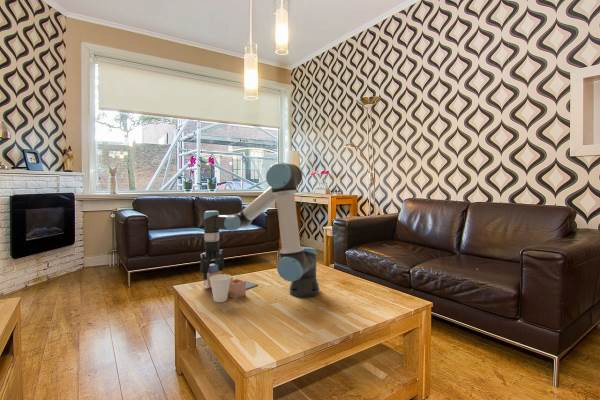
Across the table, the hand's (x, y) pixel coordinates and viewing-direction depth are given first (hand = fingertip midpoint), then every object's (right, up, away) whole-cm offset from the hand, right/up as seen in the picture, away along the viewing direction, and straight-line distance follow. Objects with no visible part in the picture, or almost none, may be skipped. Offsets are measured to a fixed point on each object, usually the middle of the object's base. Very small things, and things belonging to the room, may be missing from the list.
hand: (212, 284), depth 167 cm
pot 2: (+15, -3, -11) cm, 19 cm away
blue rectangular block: (0, +2, 0) cm, 2 cm away
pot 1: (0, 0, 0) cm, 0 cm away
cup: (+9, -3, -18) cm, 20 cm away
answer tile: (+16, -2, +3) cm, 17 cm away
